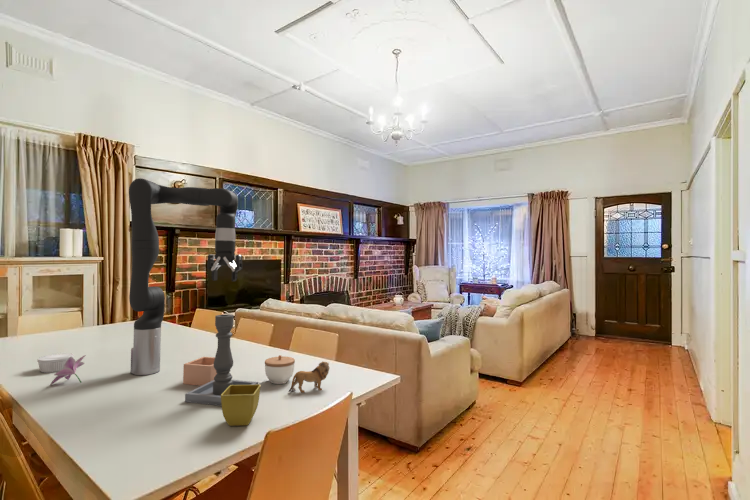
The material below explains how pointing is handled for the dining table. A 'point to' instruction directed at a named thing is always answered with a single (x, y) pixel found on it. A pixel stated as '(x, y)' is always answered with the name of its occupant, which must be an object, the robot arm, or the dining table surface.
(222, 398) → the flower pot
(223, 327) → the candle holder
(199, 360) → the square copper bin
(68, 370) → the lily
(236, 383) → the tray
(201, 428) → the dining table surface
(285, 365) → the lidded jar
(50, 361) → the ramekin
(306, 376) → the lion figurine
